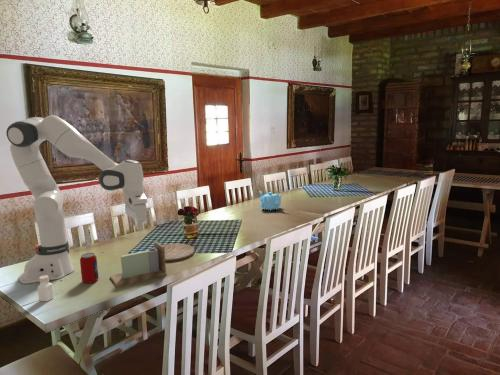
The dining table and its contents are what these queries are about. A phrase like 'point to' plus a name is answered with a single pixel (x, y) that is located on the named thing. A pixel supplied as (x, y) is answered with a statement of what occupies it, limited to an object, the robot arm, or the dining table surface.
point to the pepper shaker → (45, 289)
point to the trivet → (177, 252)
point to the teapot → (270, 201)
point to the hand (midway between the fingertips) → (136, 227)
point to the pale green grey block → (140, 263)
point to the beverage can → (89, 267)
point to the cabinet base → (121, 281)
